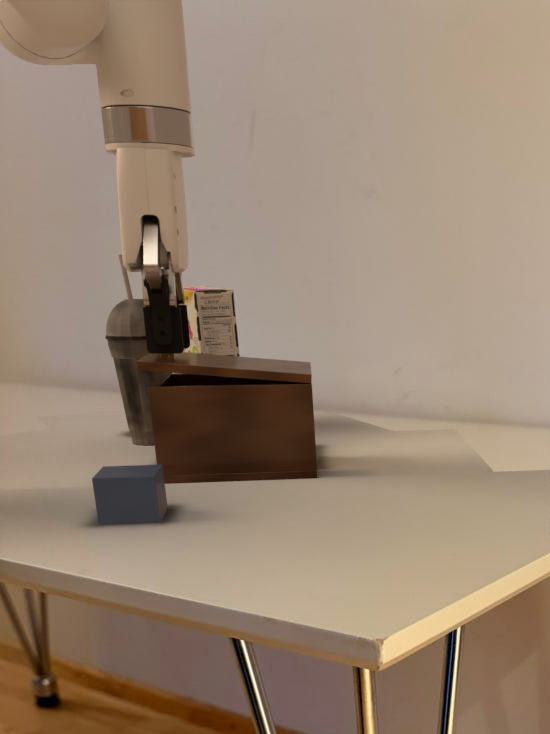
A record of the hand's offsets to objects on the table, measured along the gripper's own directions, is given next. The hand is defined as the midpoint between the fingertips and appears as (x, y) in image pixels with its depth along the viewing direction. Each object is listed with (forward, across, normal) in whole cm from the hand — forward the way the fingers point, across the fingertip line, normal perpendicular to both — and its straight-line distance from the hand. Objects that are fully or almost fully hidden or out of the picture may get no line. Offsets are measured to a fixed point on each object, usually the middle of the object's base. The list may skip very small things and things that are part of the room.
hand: (169, 348), depth 93 cm
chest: (+12, 0, +6) cm, 13 cm away
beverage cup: (+12, -18, -5) cm, 22 cm away
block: (+12, +22, -1) cm, 25 cm away
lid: (+2, 0, +5) cm, 6 cm away
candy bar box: (+12, -28, +1) cm, 30 cm away
